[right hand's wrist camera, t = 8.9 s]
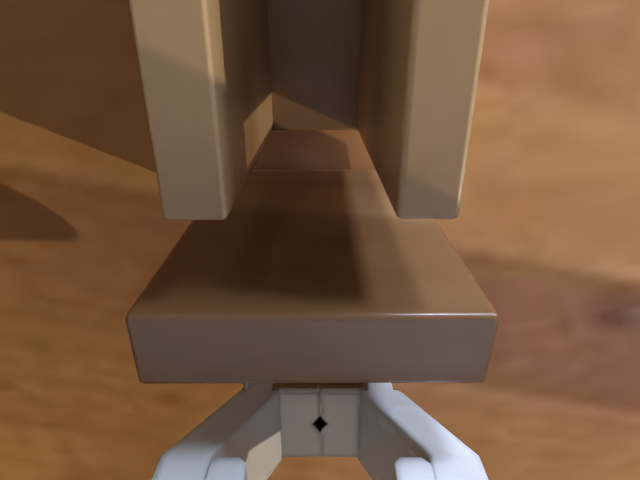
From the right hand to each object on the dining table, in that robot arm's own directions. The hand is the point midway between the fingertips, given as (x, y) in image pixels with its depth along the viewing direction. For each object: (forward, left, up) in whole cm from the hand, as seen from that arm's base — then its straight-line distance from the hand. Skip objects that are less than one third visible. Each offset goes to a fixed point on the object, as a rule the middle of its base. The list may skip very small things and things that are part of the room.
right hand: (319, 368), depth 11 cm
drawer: (-7, -6, -3) cm, 10 cm away
